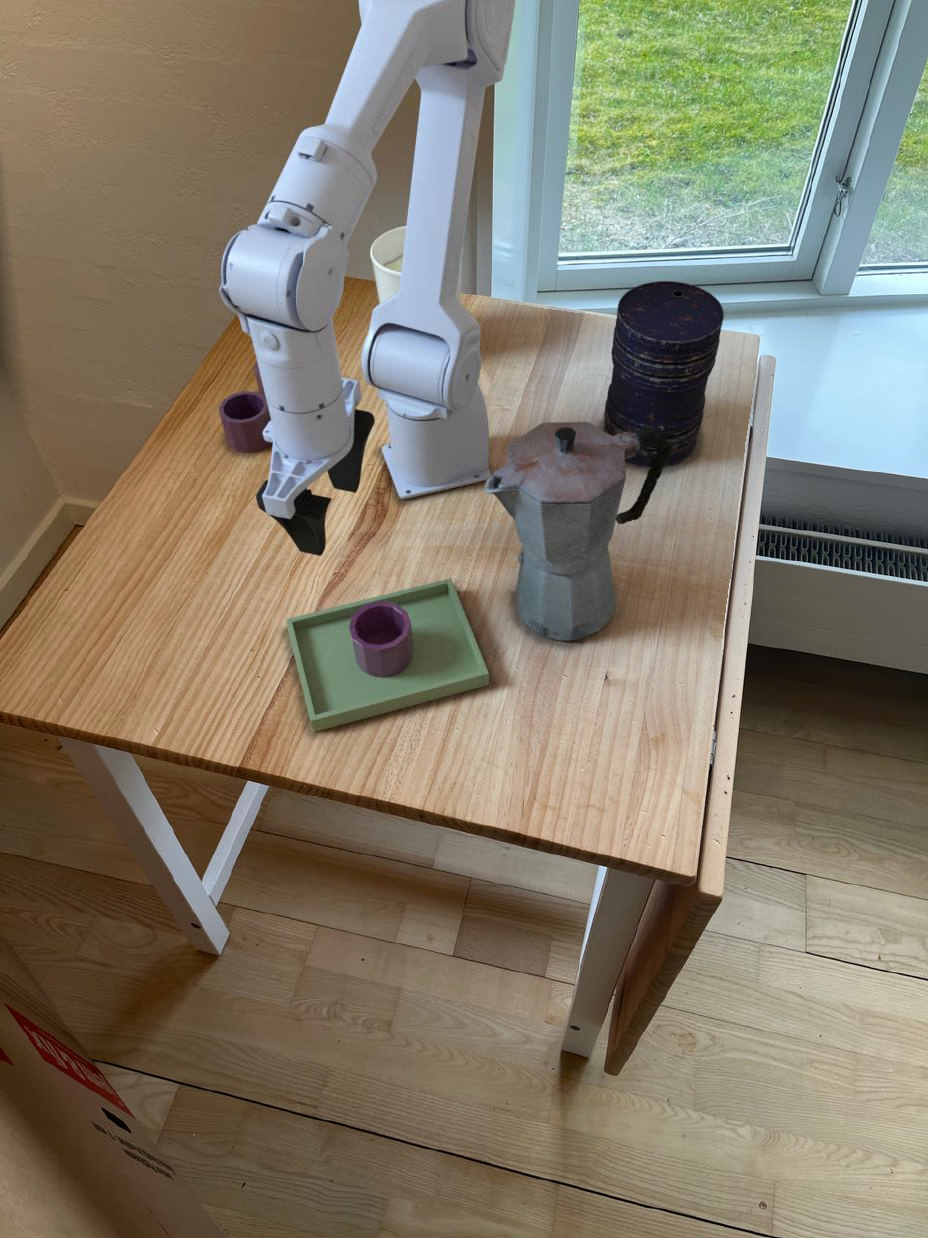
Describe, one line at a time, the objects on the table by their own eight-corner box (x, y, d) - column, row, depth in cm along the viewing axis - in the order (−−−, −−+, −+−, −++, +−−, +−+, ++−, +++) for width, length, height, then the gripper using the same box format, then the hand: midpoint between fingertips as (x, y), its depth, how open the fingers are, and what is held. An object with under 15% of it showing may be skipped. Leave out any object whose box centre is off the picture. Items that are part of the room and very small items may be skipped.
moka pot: (467, 591, 86) (461, 416, 70) (617, 539, 89) (643, 362, 74) (512, 669, 80) (516, 498, 65) (669, 610, 84) (710, 435, 68)
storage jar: (684, 479, 94) (711, 352, 83) (589, 455, 97) (603, 329, 85) (707, 418, 100) (735, 291, 88) (617, 397, 102) (632, 272, 91)
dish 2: (405, 624, 83) (401, 595, 80) (420, 668, 80) (417, 640, 77) (349, 639, 82) (343, 610, 79) (362, 684, 79) (357, 655, 76)
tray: (451, 590, 86) (451, 577, 85) (489, 685, 79) (489, 673, 78) (288, 631, 84) (285, 618, 82) (313, 732, 77) (310, 721, 76)
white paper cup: (384, 320, 112) (374, 224, 103) (467, 320, 112) (464, 223, 103) (377, 371, 106) (365, 274, 97) (464, 371, 106) (461, 273, 97)
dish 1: (270, 417, 102) (263, 386, 99) (278, 446, 99) (271, 416, 96) (224, 427, 101) (215, 396, 98) (231, 457, 98) (222, 426, 95)
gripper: (294, 324, 75) (319, 454, 86) (210, 442, 66) (249, 570, 77) (377, 338, 73) (392, 468, 84) (302, 461, 65) (330, 588, 76)
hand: (329, 518), depth 80 cm, fingers open, 7 cm apart
